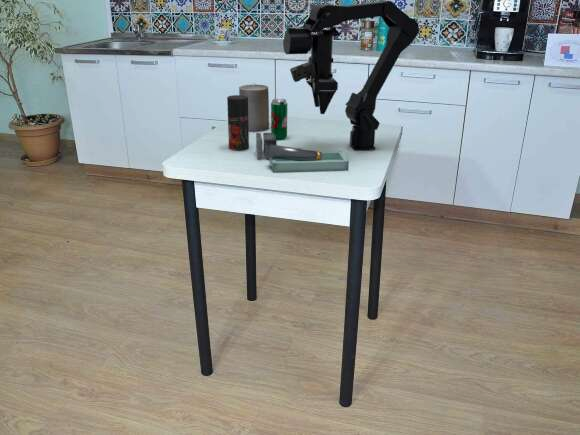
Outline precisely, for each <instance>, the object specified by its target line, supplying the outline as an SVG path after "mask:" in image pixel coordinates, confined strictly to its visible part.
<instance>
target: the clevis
mask: <svg viewBox="0 0 580 435" xmlns="http://www.w3.org/2000/svg"><path fill="white" fill-rule="evenodd" d="M255 139H256V140H255V148H256V149H255V150H256V157H257V160H258V161H260V160H261V161H262V160H263V154H264V156H265V157H264V158H265V161H266V160H267V161H268V160H269V161H270V157H268V148H269V144H271V145H277V144H278V143H277V141H278V140H276V137H275V135H274V133H271V132H263V137H262V134H261V132H255Z"/></svg>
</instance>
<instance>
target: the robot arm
mask: <svg viewBox="0 0 580 435" xmlns="http://www.w3.org/2000/svg"><path fill="white" fill-rule="evenodd" d="M378 17H380V18H381V19H382V22H384V24H385V25H386V26H387V27H388V30H387V34H386V42H385V43H386V44H385V45H384V48H383V50H382V52H381V54H380V56H379V57H378V59H377V61H376V62H375V65H374V66H373V68H372V70H371V72H370V75H369V76H368V78H367V80H366V81H365V83H364V84H363V87H362V89H360V91H359V92H357V93H355V92H351V94H350V96H349V98H348V101H347V102H346V103H345V106H346V107H345V110H344V112H345V114H346V117H347V118H348V119H349V122H350V124H351V125H352V128H351V129H352V130H350V133H349V145H350V147H351V148H353V150H354V151H356V150H357V151H358V150H359V151H361V150H362V151H363V150H364V151H366V150H369V151H370V150H376V149H377V148H376V147H375V138H376V131H378V129H379V126H380V122H379V121H378V119H377V118H376V117H375V116H374V113H375V111H376V107H377V106H376V105H377V97H378V95H379V94H380V91H381V89H382V87H383V86H384V85H385V82H386V81H387V79H388V77H389V75H390V74H391V72H392V70H393V68H394V66H395V65H396V62H397V60H398V59H399V58H400V55H401V53H402V52H403V51H405V49H407V48H409V46H411V45H412V43H413V42H414V41H415V39H417V37H418V35H419V32H420V27H419V23H418V21H417V20H416V19H414V18H411V17H410V16H409V15H408V14H406V13H405V12H404V11H403V10H401V9H400V8H399V7H397V5H396V4H395V3H394V2H393V1H391V0H380V1H372V2H365V3H363V2H362V3H355V4H348V5H337V4H336V5H335V4H327V3H326V4H325V3H317V4H314V5H313V6H312V8H311V9H310V11H309V16H308V18H306V20H305V22H304V23H303V25H302V27H286V31H285V34H284V36H283V39H282V47H283V52H284V54H285V55H307V54H308V53H309V52H311V54H310V56H309V57H308V61H307V62H305V63H301V64H299V65H296V66H293V67H290V68H289V71H290V75H291V77H292V81H293V82H295V83H297V82H300V81H302V80H303V79H304V80H305V81H306V84H307V85H308V86H309V88H311V92H312V97H313V103H314V107H315V108H319V113H320V114H321V115H325V114H326V112H327V109H328V107H329V106H330V103H331V102H332V100H333V97H334V95H335V94H336V93H337V91H338V89H339V82H338V81H337V80H336V79H335V78H334V74H333V73H332V63H334V57H333V41H334V37H340V36H342V35H341V32H339V31H338V29H337V28H336V26H339V25H342V24H343V23H344V22H347V21H355V20H363V19H370V18H378Z"/></svg>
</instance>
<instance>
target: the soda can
mask: <svg viewBox="0 0 580 435" xmlns="http://www.w3.org/2000/svg"><path fill="white" fill-rule="evenodd" d="M270 131H271V132H270V133H274V135H275V137H276V140H277V141H278V140H279V141H280V140H282V139H283V140H286V139H287V137H288V102H287V99H285V98H273V99H272V100H271V104H270ZM285 138H286V139H285ZM283 140H282V141H283Z"/></svg>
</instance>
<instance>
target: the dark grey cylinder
mask: <svg viewBox="0 0 580 435" xmlns="http://www.w3.org/2000/svg"><path fill="white" fill-rule="evenodd" d="M322 152H323V151H319V150H312V149H305V148H298V147H292V146H283V145H271V144H269V148H268V157H271V158H278V159H285V160H292V161H321V158H322Z"/></svg>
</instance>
